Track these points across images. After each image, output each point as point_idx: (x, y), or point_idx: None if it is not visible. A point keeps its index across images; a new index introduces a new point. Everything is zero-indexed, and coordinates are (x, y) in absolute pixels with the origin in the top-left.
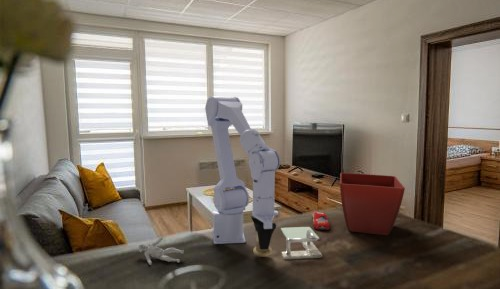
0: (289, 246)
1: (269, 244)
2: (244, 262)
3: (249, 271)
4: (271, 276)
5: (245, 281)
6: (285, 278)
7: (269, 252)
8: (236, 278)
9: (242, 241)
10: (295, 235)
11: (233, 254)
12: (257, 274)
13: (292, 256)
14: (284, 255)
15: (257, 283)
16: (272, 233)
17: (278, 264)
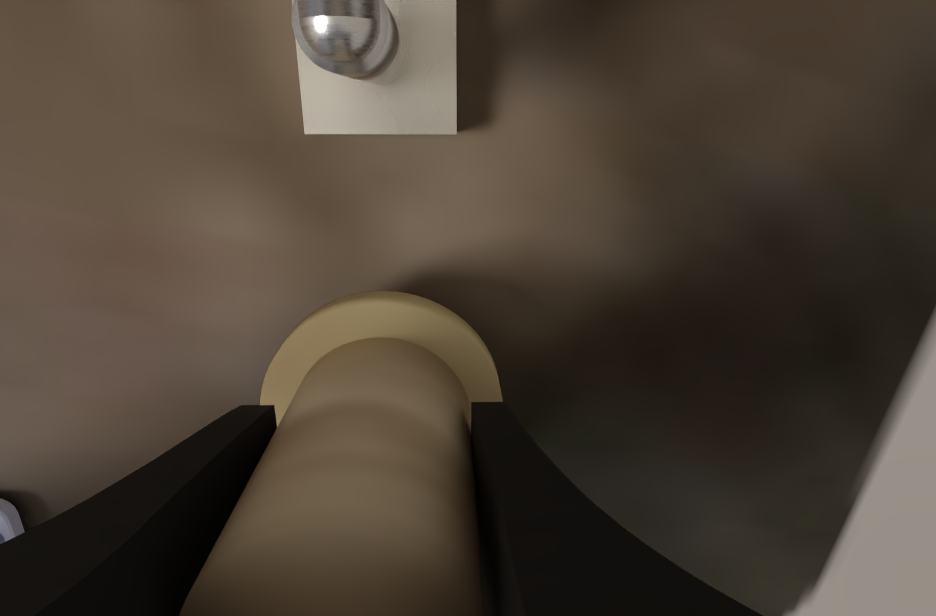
0: (395, 25)
1: (401, 378)
2: None
3: (648, 506)
4: (788, 344)
5: (795, 545)
6: (869, 220)
7: (481, 352)
8: (731, 597)
9: (11, 536)
10: None
11: None
12: (716, 452)
13: (455, 5)
14: (427, 122)
15: (857, 469)
16: (655, 552)
17: (567, 227)
